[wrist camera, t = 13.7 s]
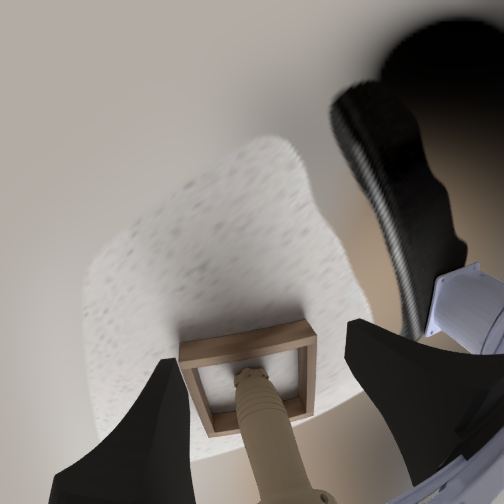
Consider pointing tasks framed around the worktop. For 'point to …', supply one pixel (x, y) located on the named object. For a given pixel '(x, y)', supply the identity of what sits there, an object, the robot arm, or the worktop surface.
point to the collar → (247, 348)
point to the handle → (272, 443)
